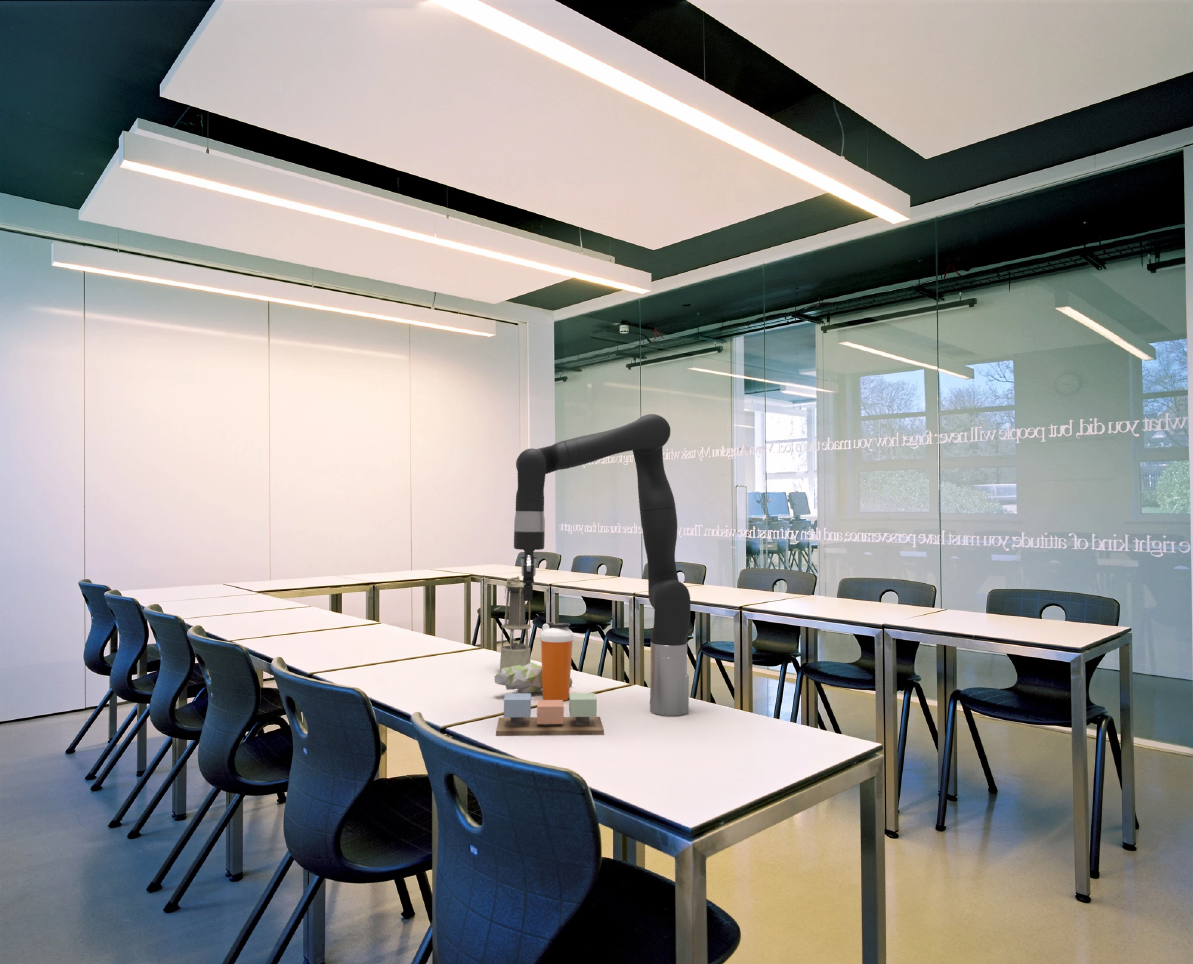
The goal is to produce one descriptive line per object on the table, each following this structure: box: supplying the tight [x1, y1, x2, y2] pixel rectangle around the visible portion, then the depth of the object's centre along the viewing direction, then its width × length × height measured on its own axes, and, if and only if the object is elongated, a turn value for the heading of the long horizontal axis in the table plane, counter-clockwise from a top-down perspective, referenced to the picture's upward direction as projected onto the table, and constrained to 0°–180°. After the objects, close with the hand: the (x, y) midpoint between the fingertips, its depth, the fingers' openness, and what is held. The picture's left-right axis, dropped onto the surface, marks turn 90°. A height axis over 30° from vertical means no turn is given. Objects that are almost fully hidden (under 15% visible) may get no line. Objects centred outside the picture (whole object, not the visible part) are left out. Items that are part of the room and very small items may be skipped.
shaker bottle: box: [539, 621, 574, 702], centre depth 196 cm, size 9×9×20 cm
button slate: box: [503, 692, 532, 717], centre depth 168 cm, size 6×6×4 cm
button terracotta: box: [536, 699, 565, 724], centre depth 168 cm, size 6×6×4 cm
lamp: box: [493, 576, 532, 674], centre depth 226 cm, size 10×13×30 cm
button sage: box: [568, 692, 598, 717], centre depth 169 cm, size 6×6×4 cm
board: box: [495, 716, 605, 737], centre depth 168 cm, size 24×11×3 cm, turn 95°
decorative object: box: [494, 662, 573, 695], centre depth 202 cm, size 9×10×25 cm
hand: (527, 600), depth 179 cm, fingers closed
